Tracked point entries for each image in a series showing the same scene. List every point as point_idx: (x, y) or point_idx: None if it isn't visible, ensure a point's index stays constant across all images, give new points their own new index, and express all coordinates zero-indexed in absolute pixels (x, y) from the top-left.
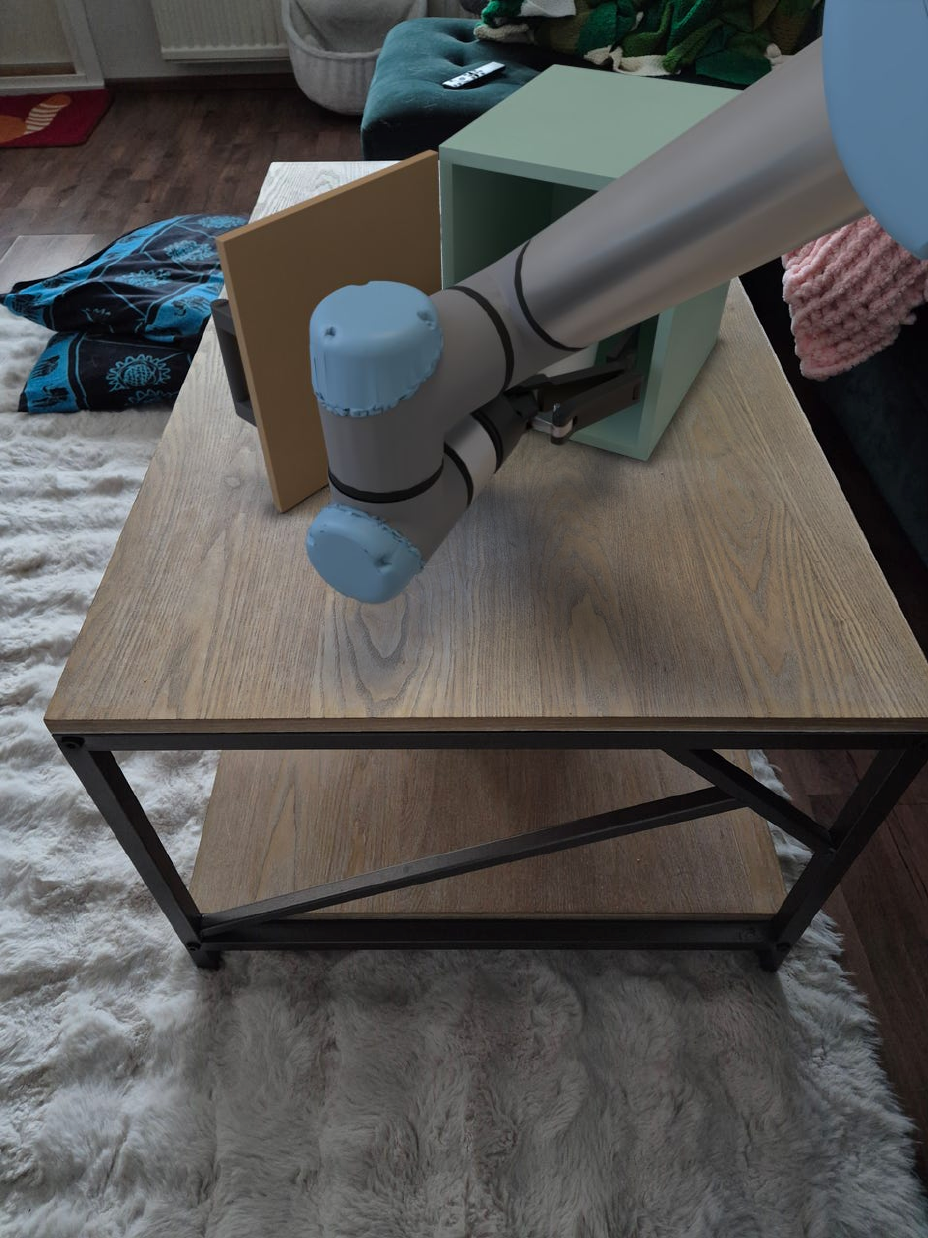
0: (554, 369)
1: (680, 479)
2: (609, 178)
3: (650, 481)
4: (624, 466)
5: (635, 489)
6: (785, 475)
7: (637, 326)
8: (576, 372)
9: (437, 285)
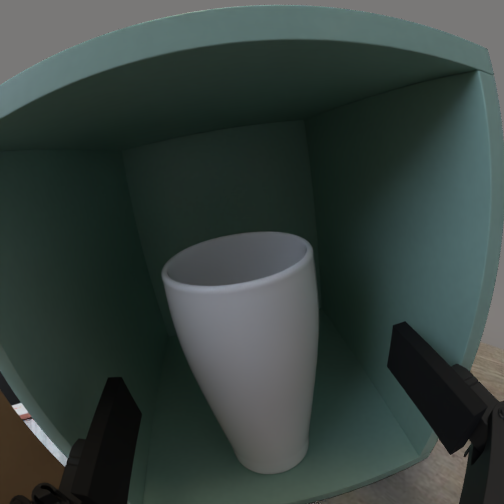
0: (272, 448)
1: (469, 445)
2: (347, 11)
3: (455, 472)
4: (418, 481)
5: (456, 493)
6: (500, 370)
7: (413, 330)
8: (488, 501)
9: (6, 417)
